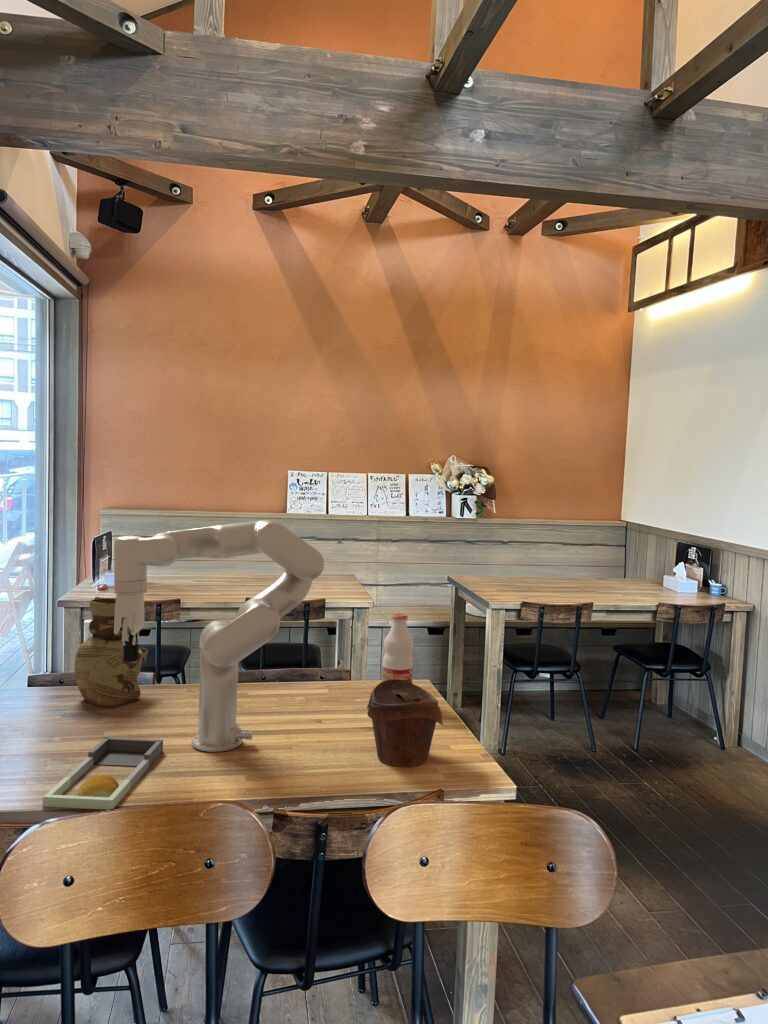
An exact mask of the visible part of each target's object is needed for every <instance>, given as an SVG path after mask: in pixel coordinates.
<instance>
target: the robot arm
mask: <svg viewBox="0 0 768 1024" xmlns="http://www.w3.org/2000/svg"><path fill="white" fill-rule="evenodd" d="M257 554H264V555H265V556H267V557H268V558H269V559H271V560H272V561H273V562H275V563H277V564H278V565H279V566H281V567H282V568H283V572H282V574H281V575H280V577H279V578H278V579H277V580H276V581H275V582H273V583H272V584H271V585H270V586H267V588H265V589H264V590H262V591H261V592H259V593H257V594H256V595H255V596H254V595H253V596H252V597H251V598H250V599H248V600H247V601H245V602H243V603H242V604H241V605H240V607H239V608H238V610H237V613H236V615H237V617H236V618H234V619H233V620H231V621H230V622H228V621H225V620H221V619H220V620H214V621H211V622H209V623H207V624H206V625H205V627H204V628H203V629H202V631H201V633H200V636H199V689H198V690H199V692H198V694H199V695H198V697H199V698H198V729H197V734H196V735H195V736H193V737H192V738H191V746H192V747H193V748H194V749H196V750H199V751H202V752H211V753H217V752H226V751H230V750H233V749H236V748H238V747H239V746H240V745H242V742H243V740H253V737H254V734H253V733H254V732H253V731H251V729H250V728H245V729H242V728H241V727H240V722H237V714H238V712H237V710H238V709H237V707H238V682H239V681H238V680H239V662H241V661H242V660H244V659H245V658H246V657H248V656H249V655H251V654H252V653H254V652H255V651H257V650H258V649H259V648H261V647H262V646H264V645H266V644H267V643H268V642H269V641H271V640H272V639H273V638H274V637H275V636H276V634H277V633H278V631H279V629H280V625H281V619H282V618H283V617H284V616H286V615H287V614H288V613H290V612H291V611H292V610H293V609H295V608H296V607H298V606H299V605H300V604H301V603H302V602H303V600H305V598H306V597H307V595H308V593H309V591H310V590H311V587H312V584H313V580H315V579H318V577H320V576H321V575H322V573H323V571H324V568H325V560H324V557H323V555H322V553H320V551H319V550H318V549H316V548H315V547H314V546H311V544H309V543H308V542H306V541H305V540H303V539H302V538H300V537H299V536H297V535H296V534H295V533H293V532H292V531H291V530H289V528H287V527H286V526H285V525H283V524H281V523H280V522H277V521H276V520H272V519H261V520H260V519H259V520H253V521H245V522H244V521H243V522H236V523H227V524H221V525H212V526H206V527H199V528H190V529H189V528H188V529H179V530H173V531H165V532H164V531H163V532H159V533H156V534H154V535H153V536H152V537H146V538H144V537H143V536H138V535H125V536H119V537H116V538H115V540H114V542H113V562H114V563H113V564H114V565H113V571H114V572H113V573H114V574H113V575H114V578H113V580H114V581H113V582H114V583H113V584H114V588H113V589H114V590H113V591H114V594H115V596H116V597H115V598H116V602H115V617H114V633H115V635H119V634H120V633H121V632H122V641H123V645H124V661H137V660H138V659H139V641H140V640H139V639H140V631H141V630H143V628H144V626H145V612H146V611H145V597H144V594H146V593H147V591H148V590H147V588H148V582H147V581H148V578H147V576H148V574H147V571H148V569H147V568H148V567H147V566H152V567H159V568H160V567H161V568H164V567H170V566H171V565H173V564H174V563H176V561H178V560H183V559H189V558H191V559H192V558H209V559H216V560H217V559H219V560H221V559H222V560H223V559H229V558H236V557H243V556H250V555H257Z"/></svg>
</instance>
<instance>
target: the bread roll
mask: <svg viewBox="0 0 768 1024" xmlns="http://www.w3.org/2000/svg"><path fill="white" fill-rule="evenodd" d="M119 786H120V784H119V782H118V780H117V779H115V778H114V777H113V776H111V775H108V774H96V775H93V776H91V777H88V778H87V779H86V780H84V781H83V782H82V783H81V784H80V785H79V787H78V789H77V791H76V796H89V797H110V796H111V795H112V794H113V792H114V791H115V790H116V789H117V788H118V787H119Z"/></svg>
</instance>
